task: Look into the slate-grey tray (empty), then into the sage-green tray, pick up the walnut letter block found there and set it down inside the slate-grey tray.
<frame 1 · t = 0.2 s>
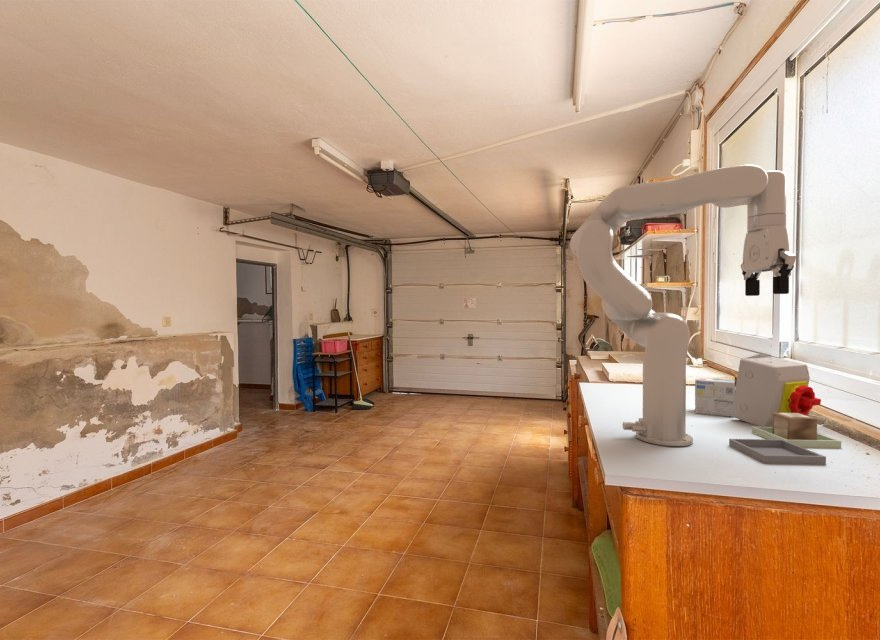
hand: (765, 294, 104), 36 cm above the table, tool pointing down, fingers open, 9 cm apart
letter block: (793, 439, 105), resting on green tray
grey tray: (774, 456, 94), on the table
electrical switch box: (776, 426, 120), on the table
light bulb box: (714, 414, 135), on the table
green tray: (793, 441, 105), on the table
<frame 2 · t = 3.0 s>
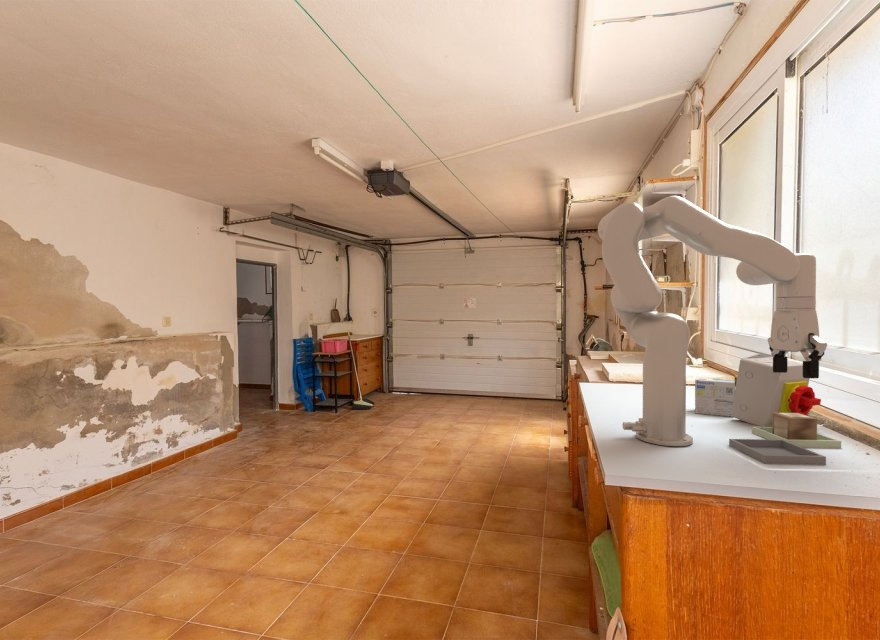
hand: (794, 375, 104), 16 cm above the table, tool pointing down, fingers open, 9 cm apart
nothing on the table moved.
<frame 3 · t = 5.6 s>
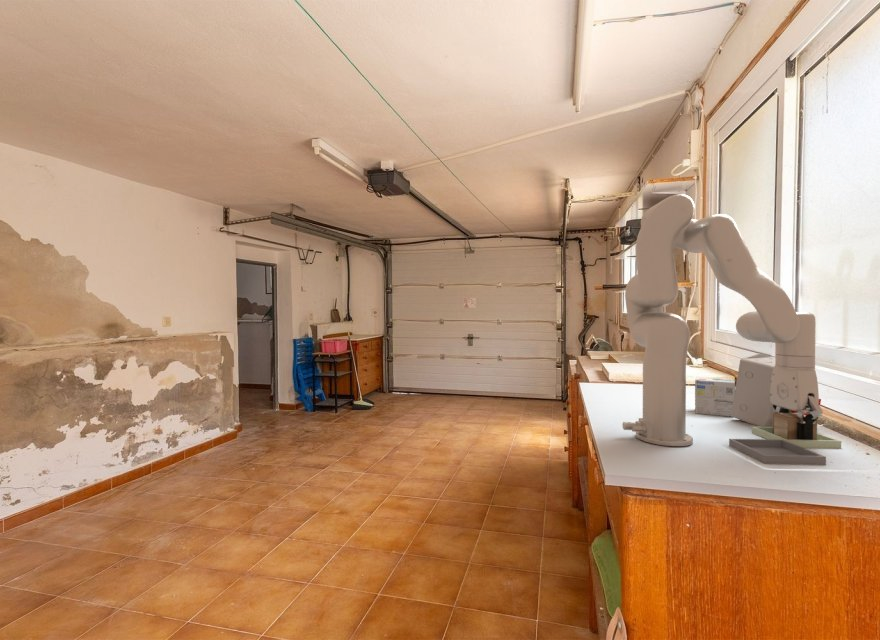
hand: (794, 435, 105), 2 cm above the table, tool pointing down, fingers closed on letter block, 6 cm apart
letter block: (793, 439, 105), resting on green tray, touching gripper
everything else where it was.
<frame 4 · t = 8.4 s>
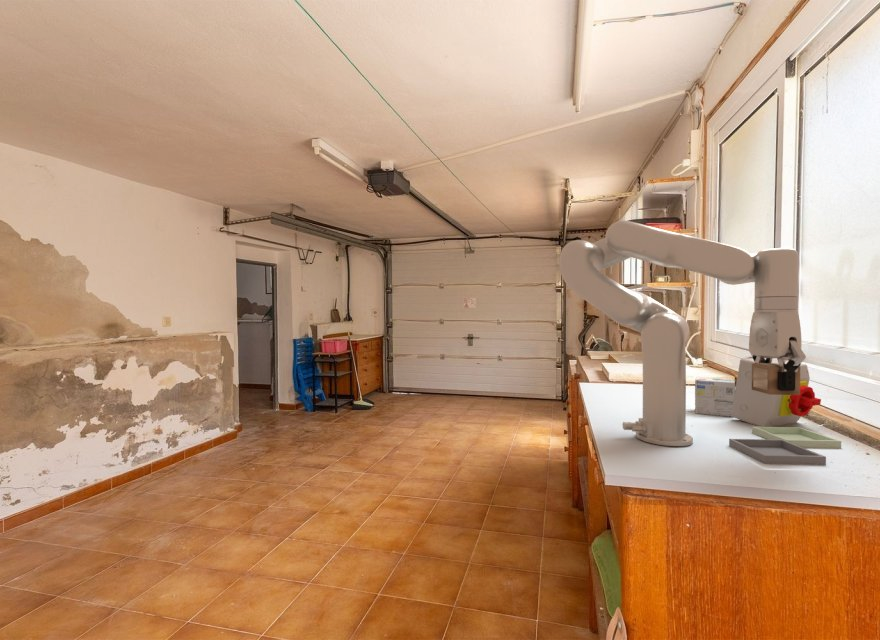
hand: (774, 386, 94), 15 cm above the table, tool pointing down, fingers closed on letter block, 6 cm apart
letter block: (774, 392, 94), point 14 cm above the table, touching gripper
everything else where it was.
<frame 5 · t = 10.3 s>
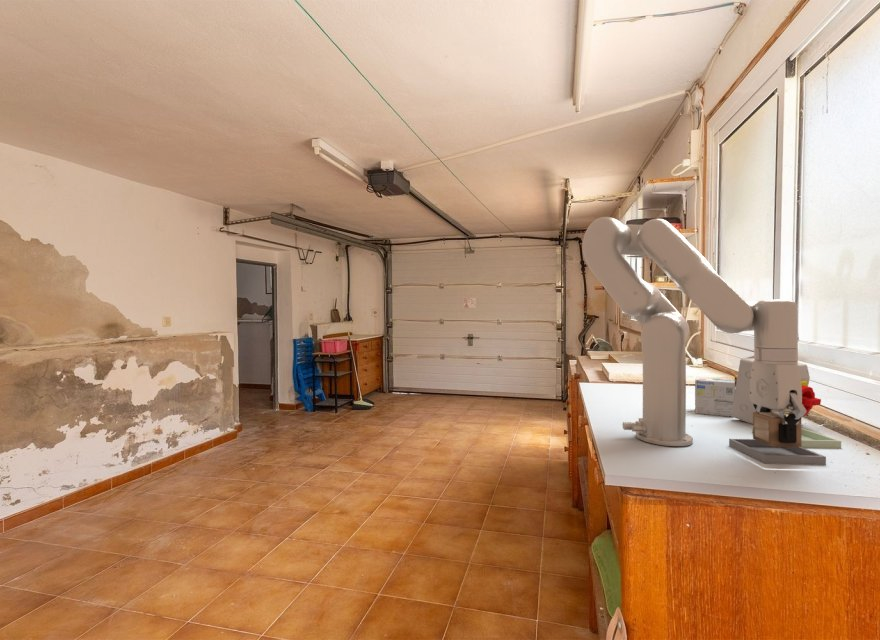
hand: (776, 437, 94), 4 cm above the table, tool pointing down, fingers closed on letter block, 6 cm apart
letter block: (776, 442, 94), point 3 cm above the table, touching gripper
everything else where it was.
when the fingers open (3 cm above the table, at t = 11.4 s): letter block drops 2 cm, resting on grey tray.
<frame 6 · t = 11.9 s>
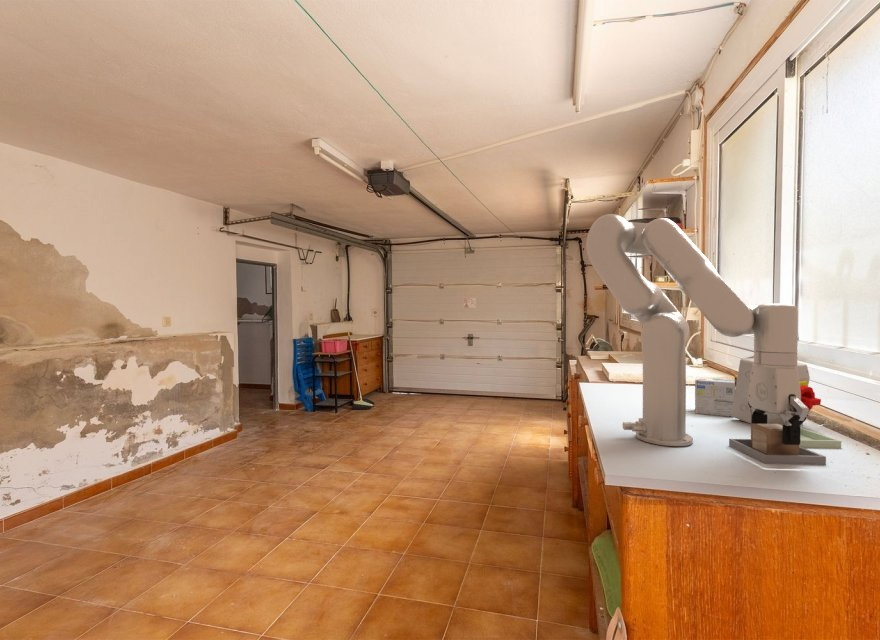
hand: (774, 437, 94), 4 cm above the table, tool pointing down, fingers open, 9 cm apart
letter block: (774, 454, 94), resting on grey tray
everything else where it was.
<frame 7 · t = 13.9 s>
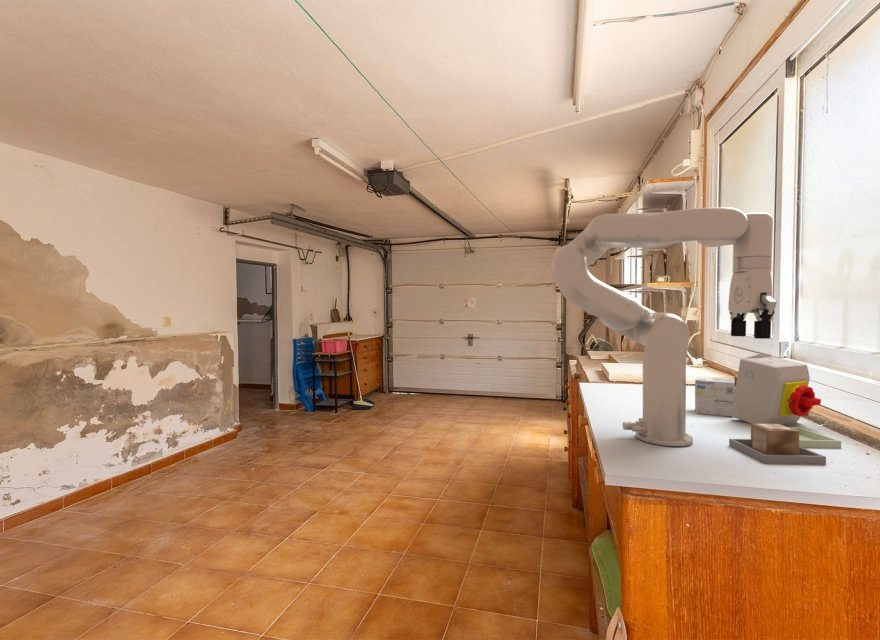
hand: (749, 337, 102), 26 cm above the table, tool pointing down, fingers open, 9 cm apart
nothing on the table moved.
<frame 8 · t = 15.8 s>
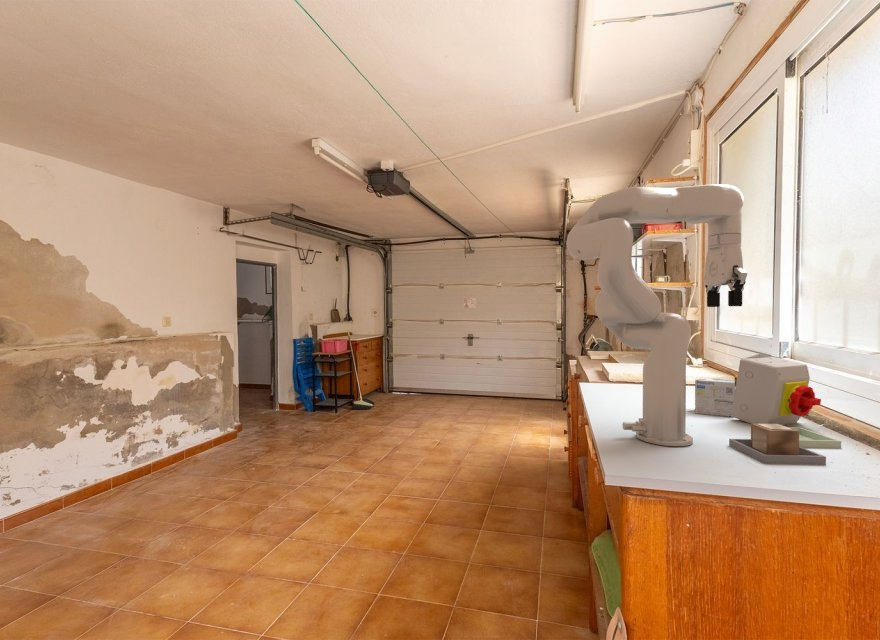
hand: (723, 306, 115), 33 cm above the table, tool pointing down, fingers open, 9 cm apart
nothing on the table moved.
at the end: letter block inside the target area on the grey tray (0.0 cm from its centre), point 0.4 cm above the grey tray's base; the gripper is holding nothing; letter block tilted 0° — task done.
